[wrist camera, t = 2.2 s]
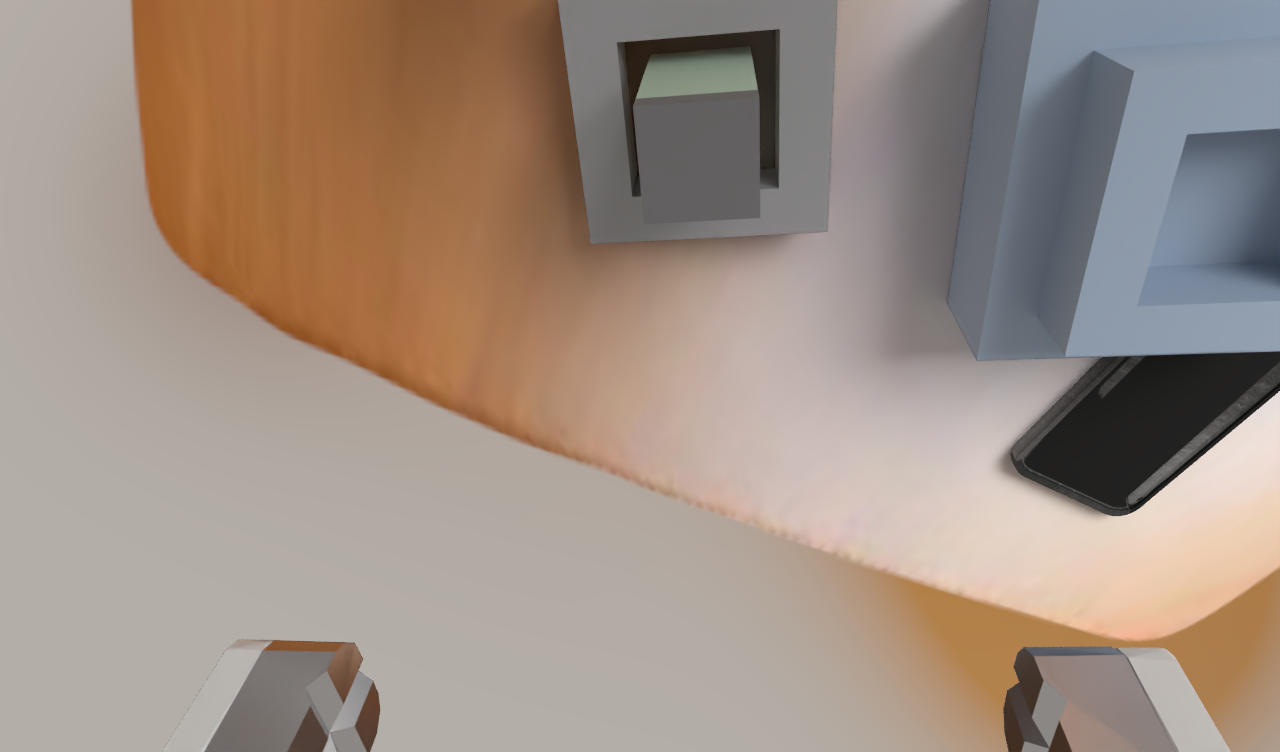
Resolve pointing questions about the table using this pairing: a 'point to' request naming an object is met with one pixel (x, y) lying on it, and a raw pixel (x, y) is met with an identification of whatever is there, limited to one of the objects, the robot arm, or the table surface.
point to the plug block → (699, 136)
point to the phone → (1142, 424)
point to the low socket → (597, 72)
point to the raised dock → (1122, 181)
